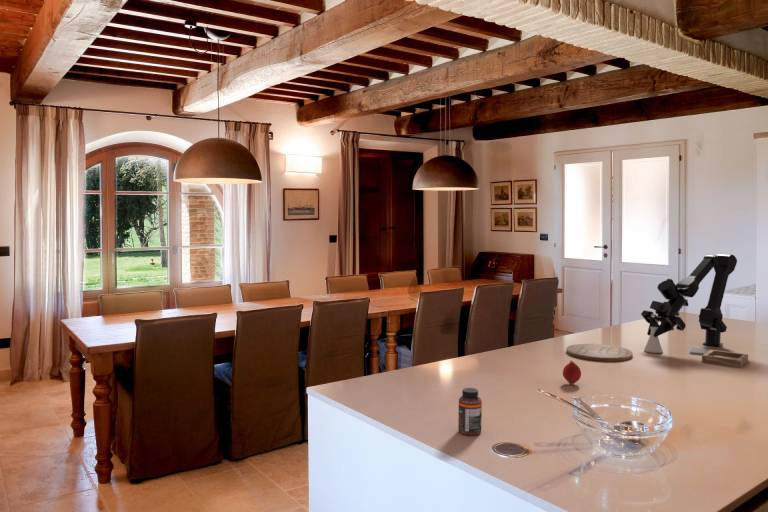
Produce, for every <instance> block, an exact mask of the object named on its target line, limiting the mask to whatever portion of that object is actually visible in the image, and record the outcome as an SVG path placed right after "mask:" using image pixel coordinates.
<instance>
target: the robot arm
mask: <svg viewBox="0 0 768 512" xmlns="http://www.w3.org/2000/svg"><path fill="white" fill-rule="evenodd" d="M737 264H738V259H737V257H736V255H734V254H727V253H718V254H716V255H714V254H706V255H704V257H703V259H702V261H700V263H699V264H698V265H697V266H696V267H695V269H694V270H693V271H692V272H691V273H690V274H689V275H688V276H687V277H685V278H683V279H681V280H680V281H679V282H677V283H676V284H675V282H674V280H673V279H672V278H667V279H666V280H663V281H662V282H660V283H658V285H657V290H658V291H659V293H660V294H661V296H662V297H663V298H664V300H667V301H664V302H661V301H656V300H652V301H651V304H650V306H649V309H652V310H654V312H653V311H652V310H651V311H650V310H646V309H645V310H643V311H642V312H641V313H640V315H641V317H642V318H643V319H644V320H645V322H646V323H648V324H649V325H648V329H647V333H646V334H647V336H650V333H651V329H650V327H658V329H657V330H656V332H655V333H654V337H657V336H658V337H659V336H661V335H663V334H665V333H667V332H670V331H675V328H674V327H675V326H676V329H677V331H680V332H681V331H682V332H683V331H684V330H685V329H686V325H687V324H686V323H685V321H684V320H683V319H682V317H680V313H679V312H680V311H681V309H682V308H683V307H689V301H688V299H685V297H686V298H694V297H695V295H696V294H697V292H698V290H699V289H700V288H699V287H700V286H699V285H700V283H701V282H702V281H703V279H705V278H706V276H707V275H708V274H709V273H710V272H711V271H712V269H713V270H714V272H715V273H714V278H713V282H712V286H711V290H710V294H709V298H708V301H707V305H706V306H705V307H703V308H700V311H699V315H698V323H699V326H700V330H705V339H704V340H705V341H704V342H703V343H702V345H705V346H711V347H712V346H713V347H718V348H719V347H721V346H723V344H724V343H722V342H721V338H722V337H721V335H722V333H723V334H724V333H726V332H727V328H728V326H727V325H726V324H725V323H724V321H723V317H724V316H723V313H722V308H721V307H722V303H723V299H724V296H725V291H726V287H727V284H728V279H729V277H730V275H731V274H732V273H733V272H734V271H735V268H736V267H737ZM659 323H660V324H659Z"/></svg>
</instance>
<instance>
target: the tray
mask: <svg viewBox="0 0 768 512" xmlns="http://www.w3.org/2000/svg"><path fill="white" fill-rule="evenodd" d="M701 362H702V363H708V364H713V365H721V366H728V367H733V368H734V367H735V368H742V367H743V366H745V364H746V363H748V362H749V354H746V353H740V352H732V351H724V350H717V349H711V350H709V351H708V352H706V353H705V354H703V355H701Z"/></svg>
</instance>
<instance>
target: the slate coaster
mask: <svg viewBox="0 0 768 512" xmlns="http://www.w3.org/2000/svg"><path fill="white" fill-rule="evenodd" d="M709 350H712V349H711V348H710V349H709V348H700V347H691V349H690V351H689V354H690V355H699V356H702V355H703V354H705V353H706V352H708V351H709Z"/></svg>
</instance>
